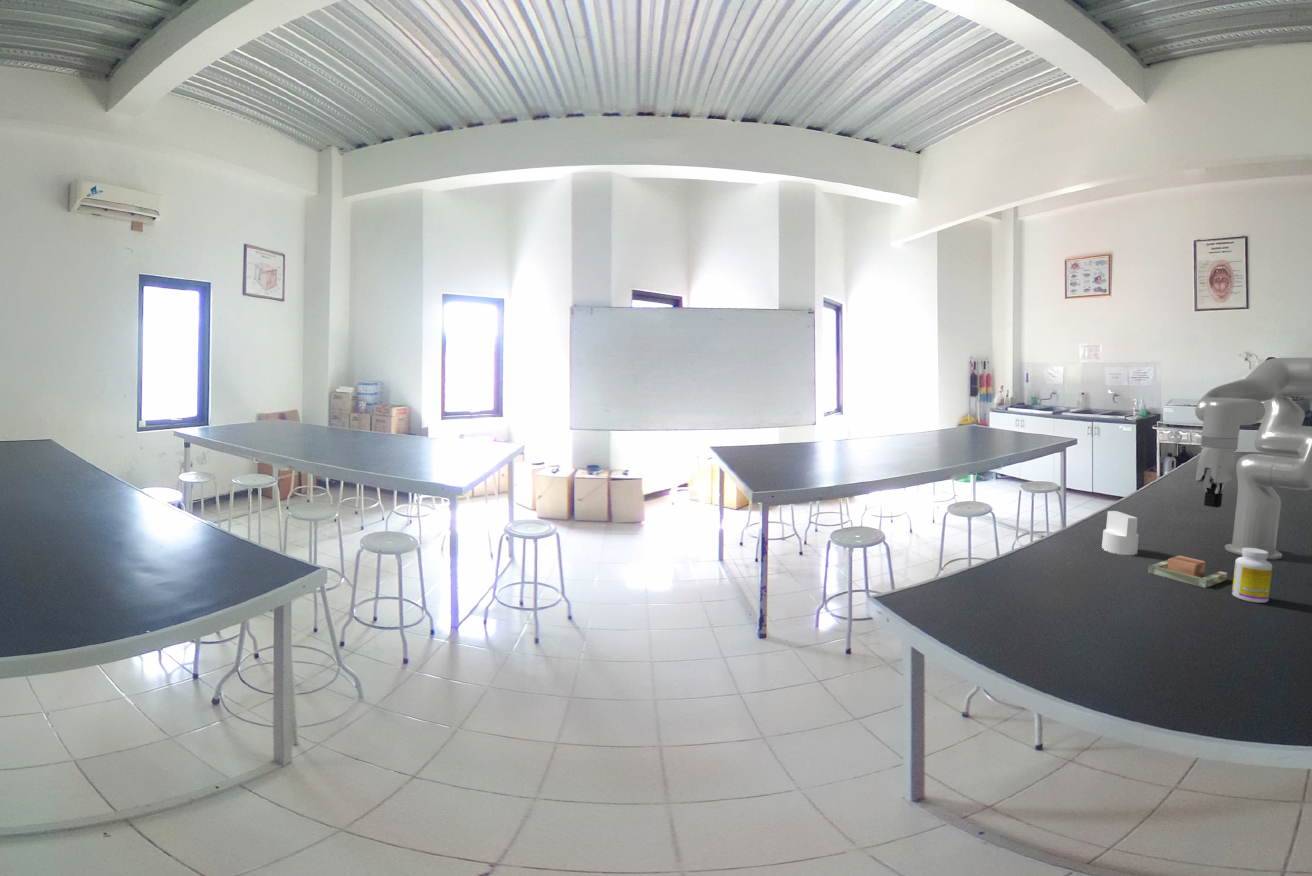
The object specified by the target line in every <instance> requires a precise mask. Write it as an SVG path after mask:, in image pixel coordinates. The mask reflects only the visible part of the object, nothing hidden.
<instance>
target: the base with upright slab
mask: <svg viewBox="0 0 1312 876" xmlns="http://www.w3.org/2000/svg"><path fill="white" fill-rule="evenodd" d="M1106 517H1107V518H1106V524H1105V525H1106V527H1105V529H1103V530H1102V541H1101V549H1102V548H1103V549H1104V550H1103V549H1102V550H1103V551H1106V552H1107V551H1108V553H1110V554H1111V553H1112V554H1115V553H1116V554H1115V555H1121V556H1123V555H1124V556H1135V554H1136V555H1137V554H1138V546H1139V535H1140V534H1139V533H1137V529H1138V519H1139V518H1138V517H1136V516H1133V515H1131V514H1130V515H1129V514H1127V513H1125V512H1121V511H1117V510H1107V515H1106Z"/></svg>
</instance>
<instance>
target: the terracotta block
mask: <svg viewBox="0 0 1312 876" xmlns="http://www.w3.org/2000/svg"><path fill="white" fill-rule="evenodd" d="M1167 560H1168V567H1167V569H1169V570H1172V571H1176V572H1180V573H1184V574H1188V575H1192V576H1196V577H1200V578H1203V577H1205V571H1206V564H1207V563H1206V561H1205V560H1200V559H1195V558H1192V557H1187V556H1185V555H1184V556H1183V555H1181V554H1180V555H1177V556H1172V557H1169V558H1168V559H1167Z"/></svg>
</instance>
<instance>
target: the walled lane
mask: <svg viewBox="0 0 1312 876" xmlns="http://www.w3.org/2000/svg"><path fill="white" fill-rule="evenodd" d="M1167 567H1168V559H1166V560H1162V561H1160V562H1157V563H1154V564H1151V565H1148V567H1147V568H1148V569H1147V574H1151V575H1156V576H1159V577H1163V578H1166V577H1167V579H1171V580H1175V581H1178V582H1182V583H1186V584H1190V585H1193V586H1196V587H1200V588H1208V587H1211V586H1214V585H1217V584H1219V583H1223V582H1225V581H1227V579H1228V572H1226V571H1225V572H1224V571H1218V572H1215V573H1212V574H1209V575H1207V576H1204V577H1203V578H1200V577H1196V576H1192V575H1188V574H1184V573H1180V572H1176V571H1172V570H1169V569H1167Z"/></svg>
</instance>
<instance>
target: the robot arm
mask: <svg viewBox="0 0 1312 876" xmlns="http://www.w3.org/2000/svg"><path fill="white" fill-rule="evenodd" d="M1291 397H1292V398H1291ZM1293 397H1297V398H1312V357H1275V358H1270V359H1267V360H1264V361H1263V362H1261V363H1260V364H1259V365H1258V366H1257V367H1256V368H1254V369H1253V370H1252V371H1251V372H1250V373H1249V374H1248V375H1247V376H1246V377H1245V378H1243V379H1239V380H1235V381H1232V382H1229V383H1225V384H1222V385H1221V384H1220V385H1219V386H1216V387H1214V388H1211V389H1210V390H1208V391H1207V392H1206V393H1205V394H1204V395H1203V396H1202V397H1201V398H1200V399H1199V400H1198V402H1197V404H1196V406H1195V414H1194V415H1195V416H1196V418H1197V419H1198V420H1199V421H1201V422H1203V423H1202V431H1201V439H1200V440H1201V442H1200V448H1201V449H1200V450H1201V451H1200V453H1199V458H1198V462H1197V467H1196V474H1195V481H1196V482H1199V483H1202V482H1203V483H1202V488H1204V492H1205V493H1204V500H1203V501H1204V503H1203V505H1204V506H1205V507H1210V508H1211V507H1212V508H1220V507H1221V506H1222V501H1223V493H1224V488H1225V485H1227V482H1230V481H1232V479H1233V475H1234V467H1235V451H1237V450H1238V447H1239V446H1238V445H1239V436H1240V428H1241V426H1242V425H1243V426H1251V425H1255V424H1258V423H1260V426H1259V428H1258V430H1257V433H1256V435H1255V438H1254V441H1253V443H1254V448H1255V449H1256V450H1257V451H1258V452H1260V453H1248V454H1245V455H1242V456H1241V457H1240V458H1239V459H1238V460H1237V462H1236V467H1235V469H1236V479H1237V498H1236V507H1235V513H1234V514H1235V515H1234V523H1233V531H1232V540H1231V543H1228V544H1224V550H1225V551H1227V552H1228V553H1231V554H1235V555H1237V556H1240V557H1242V556H1243V554H1242V548H1256V549H1261V550H1264V551H1267V552H1268V557H1267V558H1266V560H1279V559H1282V558H1283V553H1281V552H1280V551H1278V550H1276V547H1277V546H1276V545H1277V539H1278V532H1279V531H1278V530H1279V524H1280V523H1279V522H1280V515H1281V507H1282V506H1281V505H1282V501H1281V497H1280V495H1279V494H1278V492H1277V491H1276V490H1275V489H1274V488H1284V489H1289V490H1290V489H1291V490H1299V491H1310V490H1312V426H1307V425H1303V423H1304V420H1305V417H1306V413H1305V412H1304V410H1303V409H1302V407H1301V406H1300V405H1299V404H1298V403H1297V402H1296V401H1294V400H1293ZM1263 403H1264V404H1263Z"/></svg>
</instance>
